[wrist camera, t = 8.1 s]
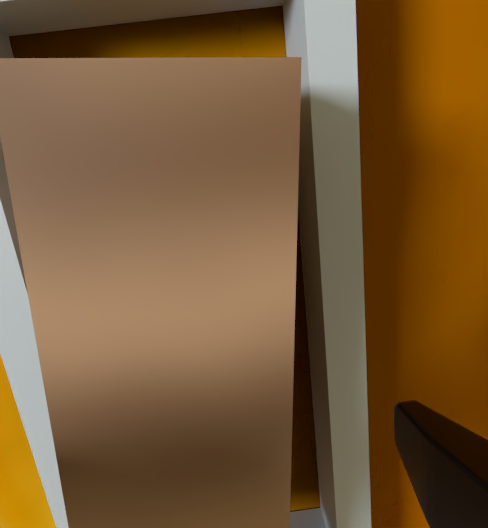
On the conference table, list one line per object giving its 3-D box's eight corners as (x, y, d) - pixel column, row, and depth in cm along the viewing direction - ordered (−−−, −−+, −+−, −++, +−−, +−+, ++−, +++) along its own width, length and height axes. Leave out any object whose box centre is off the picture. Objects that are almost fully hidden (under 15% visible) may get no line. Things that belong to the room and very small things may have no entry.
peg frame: (349, 525, 19) (373, 596, 16) (111, 559, 18) (91, 637, 16) (320, -47, 12) (352, -102, 9) (-47, -7, 12) (-130, -50, 9)
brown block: (267, 524, 16) (286, 672, 11) (130, 533, 15) (96, 687, 11) (269, 85, 11) (301, 57, 7) (76, 87, 11) (-14, 57, 7)
